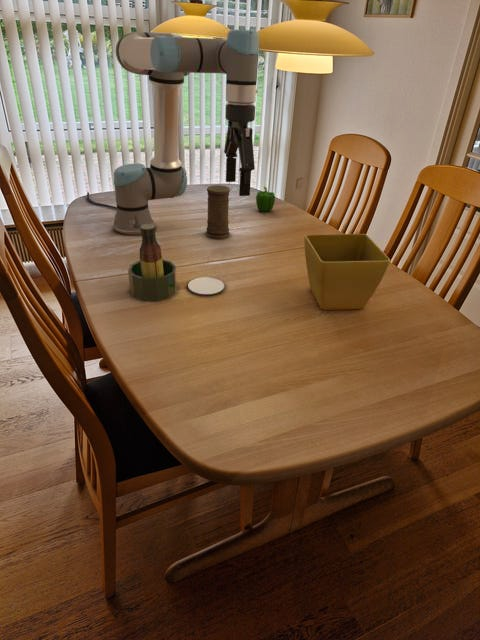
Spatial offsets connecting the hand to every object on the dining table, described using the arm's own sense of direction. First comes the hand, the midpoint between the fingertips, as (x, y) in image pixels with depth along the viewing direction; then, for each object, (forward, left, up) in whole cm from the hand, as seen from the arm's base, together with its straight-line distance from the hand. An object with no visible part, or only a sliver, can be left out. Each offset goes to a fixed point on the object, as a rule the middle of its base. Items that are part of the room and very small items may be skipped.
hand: (237, 188), depth 122 cm
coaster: (-5, -8, -29) cm, 30 cm away
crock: (-17, -18, -29) cm, 38 cm away
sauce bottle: (-17, -18, -29) cm, 38 cm away
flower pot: (+31, +7, -29) cm, 43 cm away
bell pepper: (-22, +67, -29) cm, 76 cm away
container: (-24, +30, -29) cm, 48 cm away
